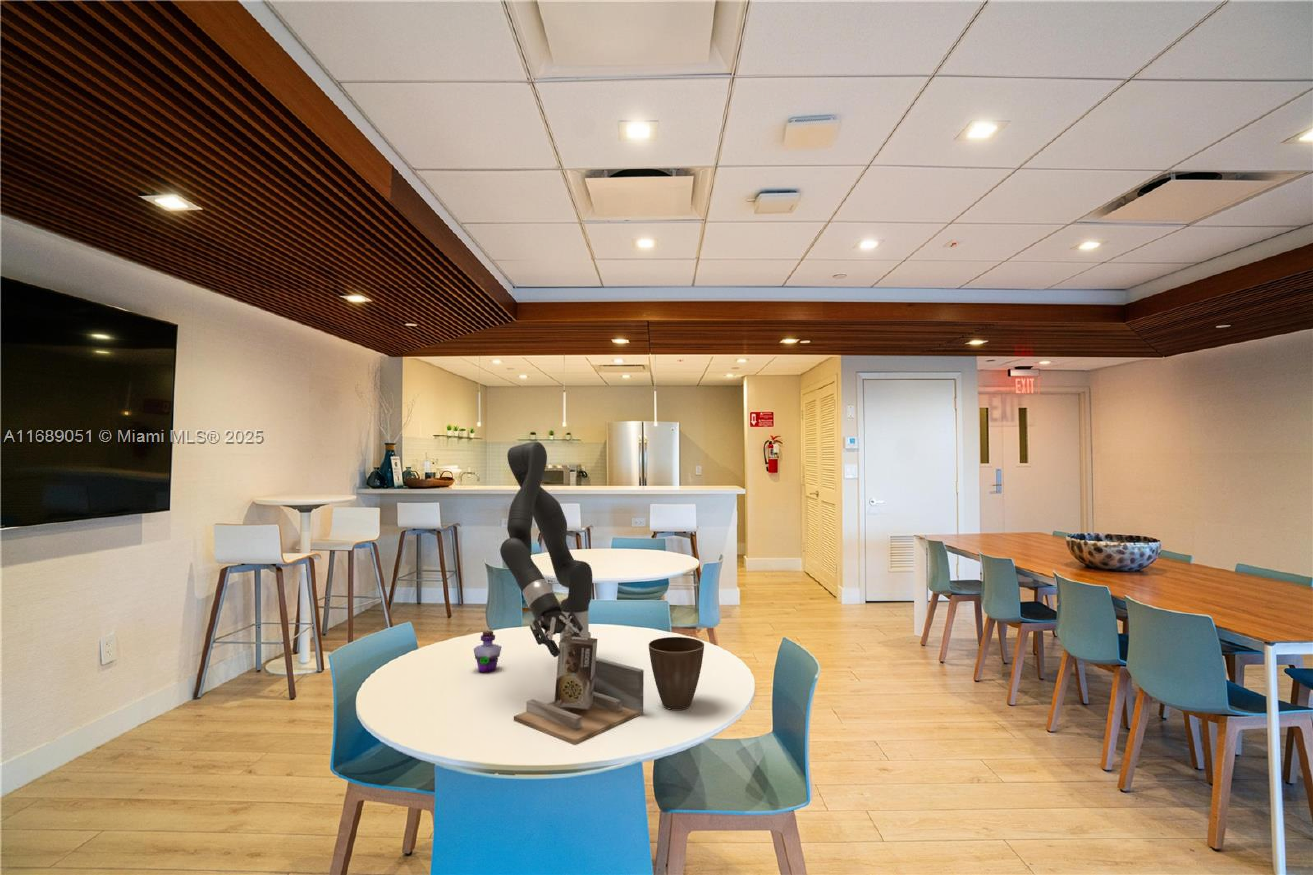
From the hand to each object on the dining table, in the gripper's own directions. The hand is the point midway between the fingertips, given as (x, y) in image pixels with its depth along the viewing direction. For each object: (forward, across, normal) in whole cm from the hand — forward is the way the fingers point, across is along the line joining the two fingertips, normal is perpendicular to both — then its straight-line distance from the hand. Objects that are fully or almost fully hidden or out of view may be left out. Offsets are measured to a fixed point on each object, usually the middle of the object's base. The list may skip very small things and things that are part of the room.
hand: (569, 651), depth 158 cm
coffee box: (+10, 0, +8) cm, 13 cm away
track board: (+14, 0, +8) cm, 16 cm away
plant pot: (+24, +22, -2) cm, 32 cm away
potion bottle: (-21, +8, +44) cm, 49 cm away
